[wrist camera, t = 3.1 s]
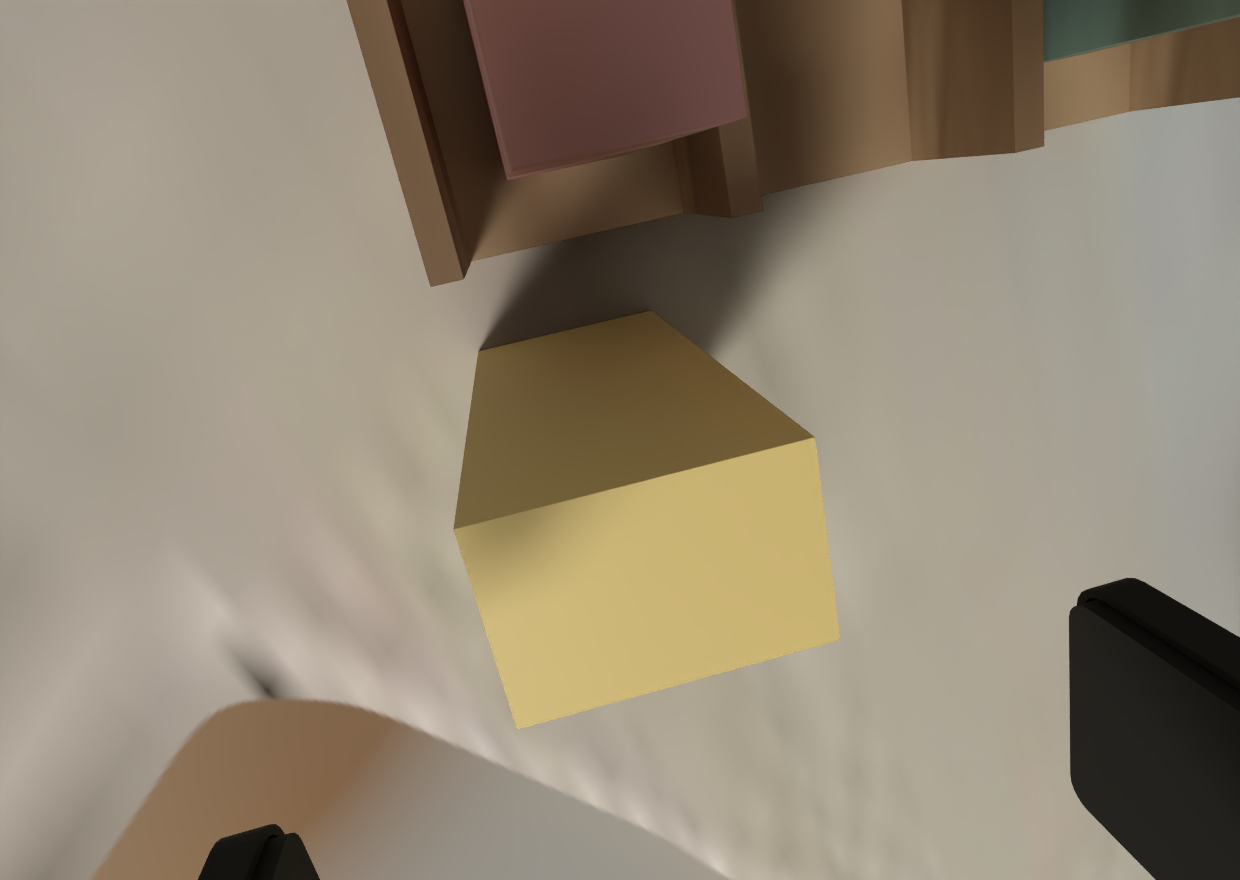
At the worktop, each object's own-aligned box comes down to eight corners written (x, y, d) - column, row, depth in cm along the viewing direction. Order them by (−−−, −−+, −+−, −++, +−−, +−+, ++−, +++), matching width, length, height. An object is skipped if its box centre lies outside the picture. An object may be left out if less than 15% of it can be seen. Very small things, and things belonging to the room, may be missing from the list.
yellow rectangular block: (651, 310, 25) (814, 436, 12) (672, 419, 27) (840, 639, 13) (478, 351, 25) (453, 529, 12) (508, 460, 26) (517, 729, 13)
